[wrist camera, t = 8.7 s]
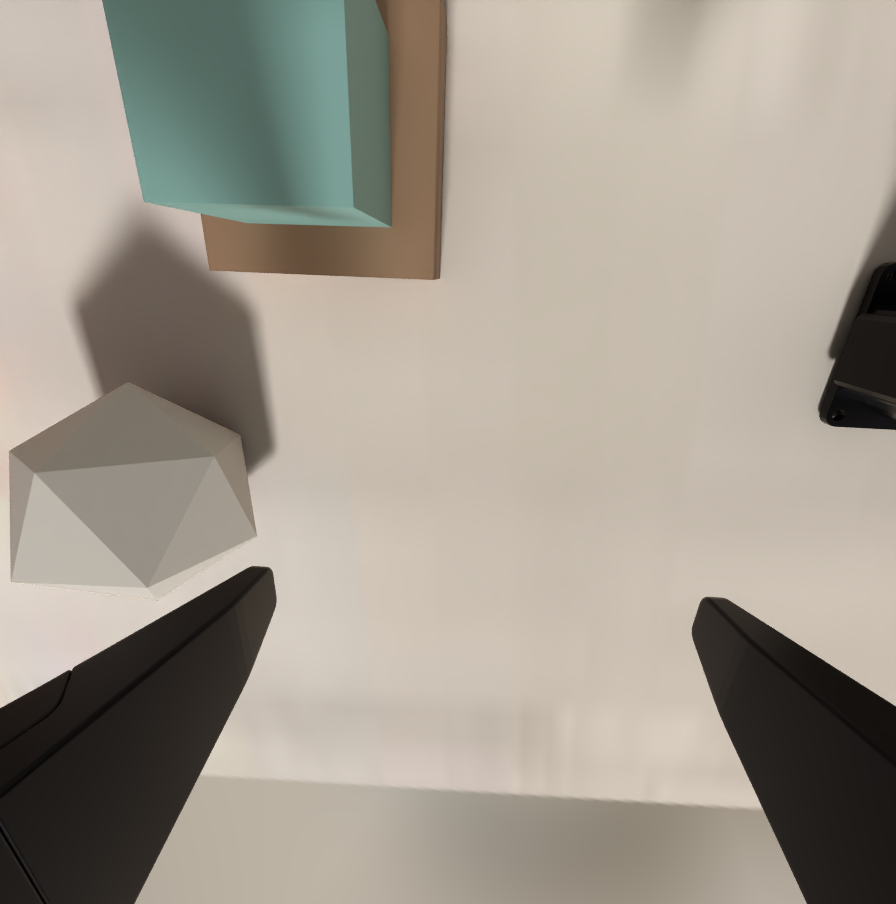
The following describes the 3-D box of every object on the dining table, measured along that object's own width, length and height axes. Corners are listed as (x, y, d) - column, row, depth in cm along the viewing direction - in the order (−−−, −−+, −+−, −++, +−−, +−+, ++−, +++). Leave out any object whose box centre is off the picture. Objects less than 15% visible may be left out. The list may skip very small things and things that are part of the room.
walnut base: (446, 27, 15) (440, -28, 12) (439, 278, 18) (433, 279, 15) (218, 22, 15) (161, -32, 13) (249, 270, 18) (209, 270, 16)
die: (152, 334, 20) (-127, 452, 15) (273, 394, 17) (-36, 584, 11) (219, 460, 26) (36, 581, 20) (320, 526, 22) (131, 696, 17)
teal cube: (388, 36, 13) (339, -96, 8) (391, 227, 15) (353, 207, 10) (221, 34, 13) (82, -96, 8) (246, 223, 15) (143, 201, 10)
